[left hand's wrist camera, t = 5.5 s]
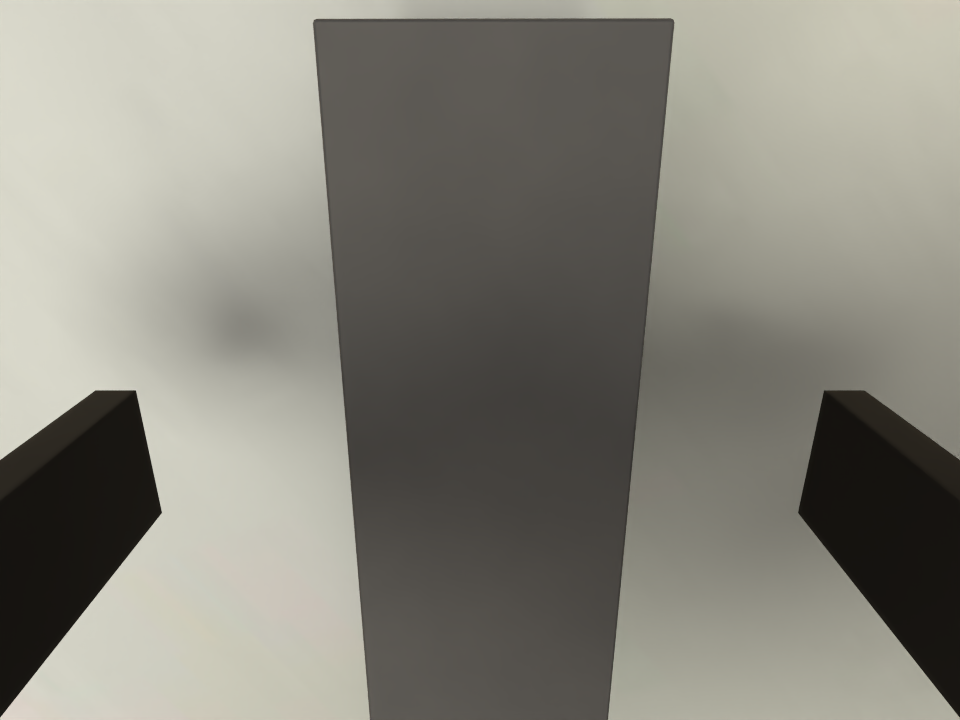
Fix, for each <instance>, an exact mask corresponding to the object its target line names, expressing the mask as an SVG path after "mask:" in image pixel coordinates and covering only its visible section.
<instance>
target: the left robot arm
mask: <svg viewBox="0 0 960 720" xmlns="http://www.w3.org/2000/svg"><path fill="white" fill-rule="evenodd" d="M161 513H162V511H161V506H160V502H159V497H158V492H157V488H156V483H155V478H154V474H153V469H152V464H151V459H150V455H149V450H148V445H147V441H146V436H145V431H144V427H143V422H142V417H141V413H140V408H139V403H138V399H137V394H136V391H94V392H93V393H92V394H90V395H89V396H87V397H86V398H85V399H83V400H82V401H81V402H79V403H78V404H77V405H75V406H74V407H72V408H71V409H70V410H68V411H67V412H66V413H64V414H63V415H61V416H60V417H59V418H57V419H56V420H55V421H53V422H52V423H50V424H49V425H48V426H46V427H45V428H44V429H42V430H41V431H40V432H38V433H37V434H35V435H34V436H33V437H31V438H30V439H29V440H27V441H26V442H24V443H23V444H22V445H20V446H19V447H18V448H16V449H15V450H14V451H12V452H11V453H9V454H8V455H7V456H5V457H4V458H3V459H1V460H0V717H1V716H2V715H3V713H4V712H5V711H6V709H7V708H8V707H9V706H10V704H11V703H12V702H13V701H14V699H15V698H16V697H17V696H18V694H19V693H20V692H21V690H22V689H23V688H24V687H25V685H26V684H27V683H28V682H29V680H30V679H31V678H32V677H33V675H34V674H35V673H36V671H37V670H38V669H39V668H40V666H41V665H42V664H43V663H44V661H45V660H46V659H47V658H48V656H49V655H50V654H51V652H52V651H53V650H54V649H55V647H56V646H57V645H58V644H59V642H60V641H61V640H62V639H63V637H64V636H65V635H66V633H67V632H68V631H69V630H70V628H71V627H72V626H73V625H74V623H75V622H76V621H77V620H78V618H79V617H80V616H81V615H82V613H83V612H84V611H85V609H86V608H87V607H88V606H89V604H90V603H91V602H92V601H93V599H94V598H95V597H96V596H97V594H98V593H99V592H100V590H101V589H102V588H103V587H104V585H105V584H106V583H107V582H108V580H109V579H110V578H111V577H112V575H113V574H114V573H115V571H116V570H117V569H118V568H119V566H120V565H121V564H122V563H123V561H124V560H125V559H126V558H127V556H128V555H129V554H130V552H131V551H132V550H133V549H134V547H135V546H136V545H137V544H138V542H139V541H140V540H141V539H142V537H143V536H144V535H145V533H146V532H147V531H148V530H149V528H150V527H151V526H152V525H153V523H154V522H155V521H156V520H157V518H158V517H159V516H160V514H161ZM798 513H799V515H800V516H801V517H802V518H803V520H804V521H805V522H806V523H807V525H808V526H809V527H810V528H811V530H812V531H813V532H814V533H815V535H816V536H817V537H818V539H819V540H820V541H821V542H822V544H823V545H824V546H825V547H826V549H827V550H828V551H829V552H830V554H831V555H832V556H833V558H834V559H835V560H836V561H837V563H838V564H839V565H840V566H841V568H842V569H843V570H844V571H845V573H846V574H847V575H848V577H849V578H850V579H851V580H852V582H853V583H854V584H855V585H856V587H857V588H858V589H859V590H860V592H861V593H862V594H863V596H864V597H865V598H866V599H867V601H868V602H869V603H870V604H871V606H872V607H873V608H874V609H875V611H876V612H877V613H878V615H879V616H880V617H881V618H882V620H883V621H884V622H885V623H886V625H887V626H888V627H889V628H890V630H891V631H892V632H893V633H894V635H895V636H896V637H897V639H898V640H899V641H900V642H901V644H902V645H903V646H904V647H905V649H906V650H907V651H908V652H909V654H910V655H911V656H912V658H913V659H914V660H915V661H916V663H917V664H918V665H919V666H920V668H921V669H922V670H923V671H924V673H925V674H926V675H927V677H928V678H929V679H930V680H931V682H932V683H933V684H934V685H935V687H936V688H937V689H938V690H939V692H940V693H941V694H942V696H943V697H944V698H945V699H946V701H947V702H948V703H949V704H950V706H951V707H952V708H953V709H954V711H955V712H956V713H957V715H958V716H959V717H960V460H959V459H957V458H956V457H955V456H953V455H952V454H951V453H949V452H948V451H946V450H945V449H944V448H942V447H941V446H940V445H938V444H937V443H936V442H934V441H933V440H931V439H930V438H929V437H927V436H926V435H925V434H923V433H922V432H920V431H919V430H918V429H916V428H915V427H914V426H912V425H911V424H910V423H908V422H907V421H905V420H904V419H903V418H901V417H900V416H899V415H897V414H896V413H894V412H893V411H892V410H890V409H889V408H888V407H886V406H885V405H883V404H882V403H881V402H879V401H878V400H877V399H875V398H874V397H873V396H871V395H870V394H868V393H867V392H866V391H824V394H823V399H822V403H821V408H820V413H819V417H818V422H817V427H816V431H815V436H814V441H813V445H812V450H811V455H810V459H809V464H808V469H807V474H806V478H805V483H804V488H803V492H802V497H801V502H800V506H799V511H798Z"/></svg>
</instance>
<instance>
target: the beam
mask: <svg viewBox="0 0 960 720" xmlns="http://www.w3.org/2000/svg"><path fill="white" fill-rule="evenodd" d="M313 28H314V40H315V52H316V64H317V77H318V89H319V101H320V113H321V125H322V138H323V150H324V162H325V174H326V187H327V199H328V211H329V223H330V235H331V248H332V260H333V272H334V284H335V296H336V309H337V321H338V333H339V345H340V358H341V370H342V382H343V394H344V406H345V419H346V431H347V443H348V455H349V468H350V480H351V492H352V504H353V516H354V529H355V541H356V553H357V565H358V577H359V590H360V602H361V614H362V626H363V639H364V651H365V663H366V675H367V687H368V700H369V712H370V720H608V712H609V701H610V691H611V680H612V670H613V659H614V649H615V638H616V628H617V617H618V607H619V596H620V586H621V575H622V565H623V554H624V544H625V533H626V523H627V512H628V502H629V491H630V481H631V471H632V460H633V450H634V439H635V429H636V418H637V408H638V397H639V387H640V376H641V366H642V355H643V345H644V334H645V324H646V313H647V303H648V292H649V282H650V271H651V261H652V250H653V240H654V229H655V219H656V208H657V198H658V188H659V177H660V167H661V156H662V146H663V135H664V125H665V114H666V104H667V93H668V83H669V72H670V62H671V51H672V41H673V30H674V20H673V19H671V18H668V19H316V20H314V22H313Z"/></svg>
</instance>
